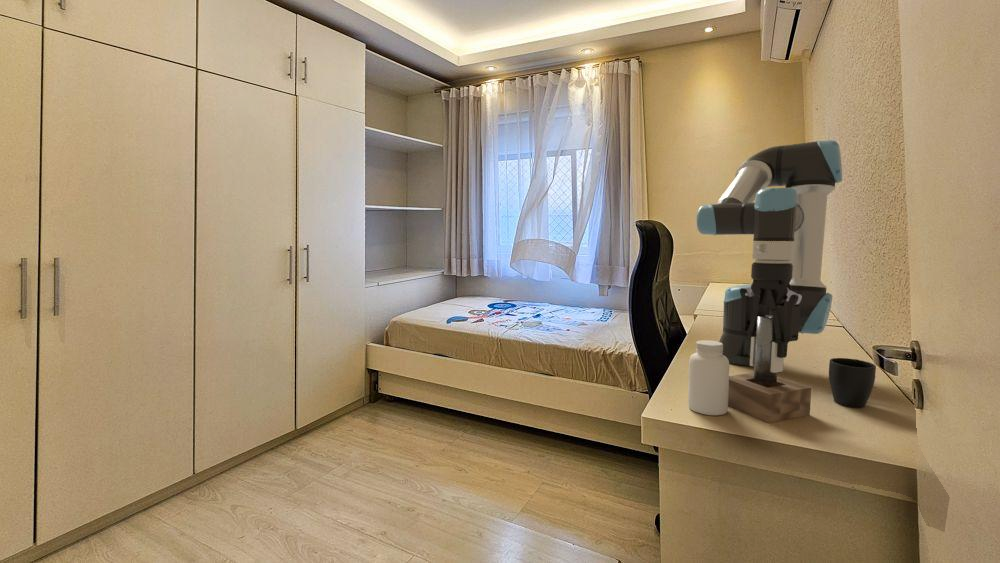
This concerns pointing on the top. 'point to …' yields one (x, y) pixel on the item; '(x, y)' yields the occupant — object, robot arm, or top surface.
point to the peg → (764, 350)
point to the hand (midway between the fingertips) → (765, 368)
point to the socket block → (768, 398)
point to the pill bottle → (708, 379)
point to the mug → (851, 381)
